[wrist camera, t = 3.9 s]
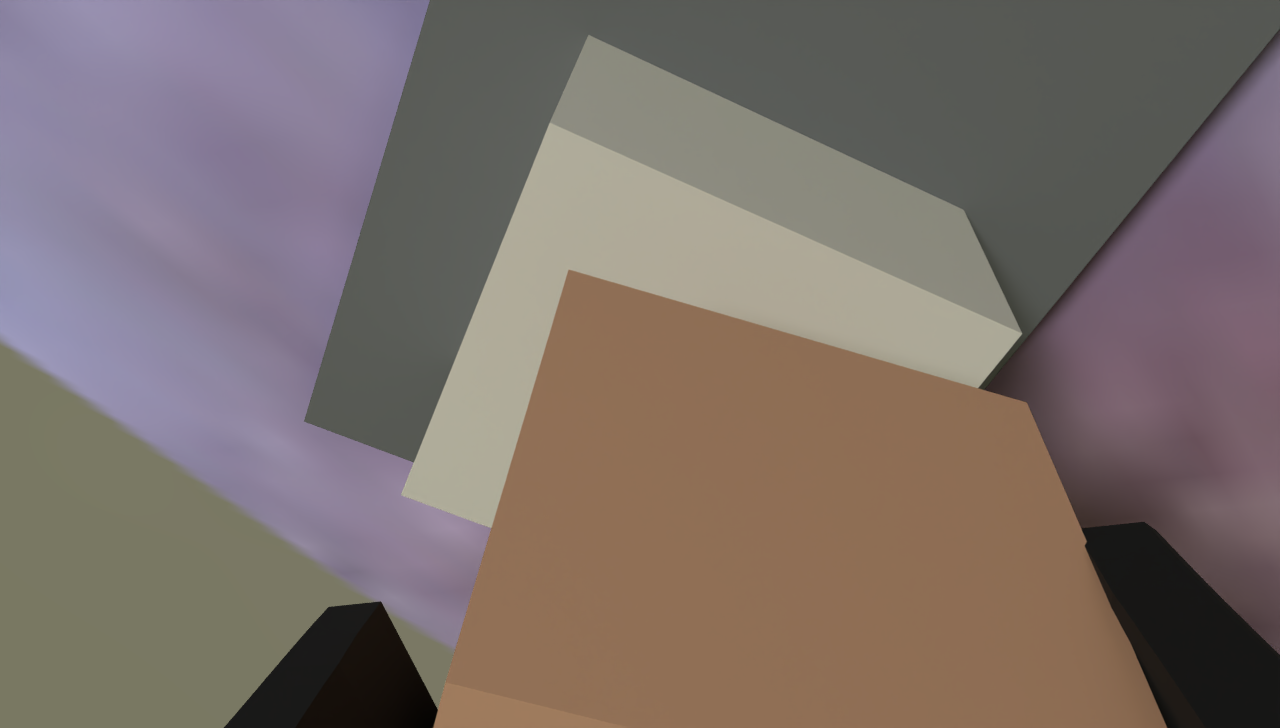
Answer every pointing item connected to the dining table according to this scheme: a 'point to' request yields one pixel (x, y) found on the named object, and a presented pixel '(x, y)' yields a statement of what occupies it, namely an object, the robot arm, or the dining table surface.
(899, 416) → the cube
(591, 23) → the mat
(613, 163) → the base block
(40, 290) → the dining table surface
